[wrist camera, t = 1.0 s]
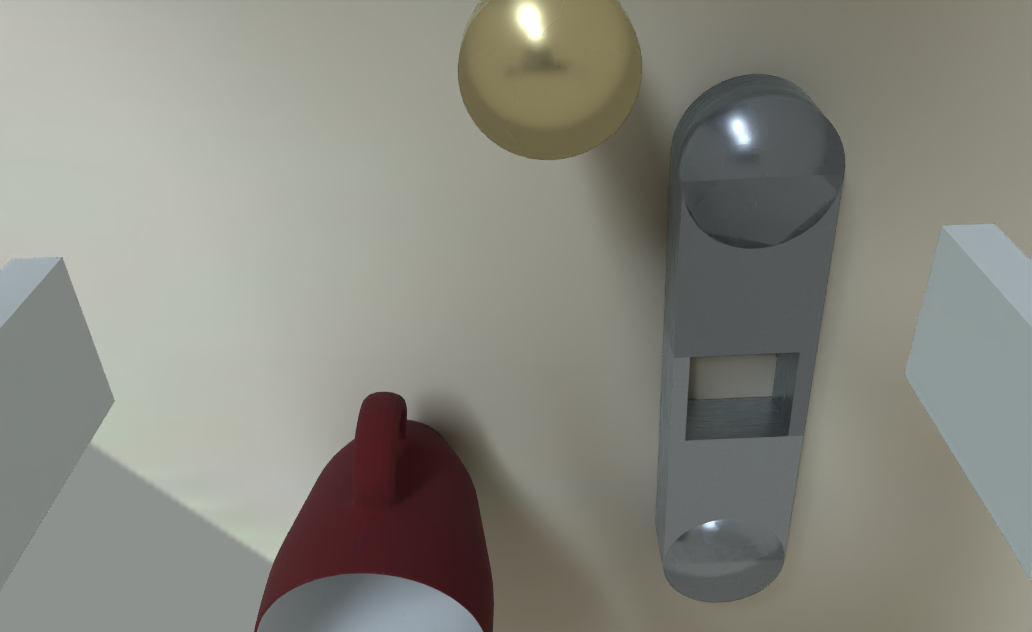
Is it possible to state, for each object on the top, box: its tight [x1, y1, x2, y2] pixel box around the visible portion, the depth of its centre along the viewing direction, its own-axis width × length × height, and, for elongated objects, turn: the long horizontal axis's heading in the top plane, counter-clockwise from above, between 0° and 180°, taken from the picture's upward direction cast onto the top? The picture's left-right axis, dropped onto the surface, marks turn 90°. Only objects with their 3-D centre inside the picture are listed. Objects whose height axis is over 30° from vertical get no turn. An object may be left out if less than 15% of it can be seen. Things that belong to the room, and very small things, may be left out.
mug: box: [254, 392, 494, 632], centre depth 33 cm, size 11×8×10 cm
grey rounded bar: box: [656, 75, 845, 602], centre depth 34 cm, size 23×5×2 cm, turn 3°
